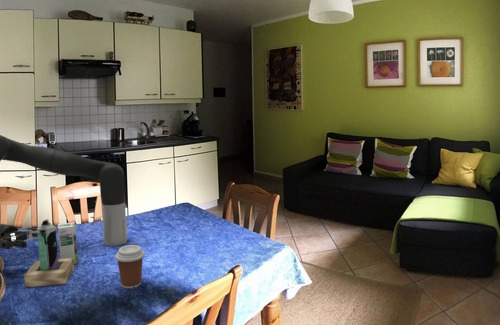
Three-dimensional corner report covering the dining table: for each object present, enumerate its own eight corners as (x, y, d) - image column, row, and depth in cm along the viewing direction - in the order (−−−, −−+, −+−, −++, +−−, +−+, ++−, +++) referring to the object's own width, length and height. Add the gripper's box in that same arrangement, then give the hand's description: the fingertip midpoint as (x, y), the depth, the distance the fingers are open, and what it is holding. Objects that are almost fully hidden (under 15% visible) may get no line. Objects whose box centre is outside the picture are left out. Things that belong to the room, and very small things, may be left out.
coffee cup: (118, 292, 122) (116, 256, 120) (115, 280, 130) (113, 246, 128) (148, 287, 125) (146, 251, 124) (143, 275, 134) (142, 242, 132)
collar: (74, 268, 139) (73, 257, 138) (65, 283, 127) (64, 272, 127) (37, 271, 137) (36, 260, 136) (25, 287, 125) (24, 275, 124)
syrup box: (61, 266, 140) (58, 228, 138) (60, 260, 146) (57, 223, 143) (78, 263, 143) (75, 225, 141) (77, 258, 148) (74, 221, 146)
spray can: (59, 278, 131) (55, 221, 128) (41, 282, 128) (36, 223, 125) (58, 272, 136) (54, 216, 132) (41, 275, 133) (36, 219, 130)
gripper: (-21, 230, 129) (17, 236, 124) (17, 218, 142) (52, 223, 137) (-19, 252, 130) (19, 259, 125) (18, 238, 144) (54, 243, 139)
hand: (36, 240), depth 131 cm, fingers open, 8 cm apart
